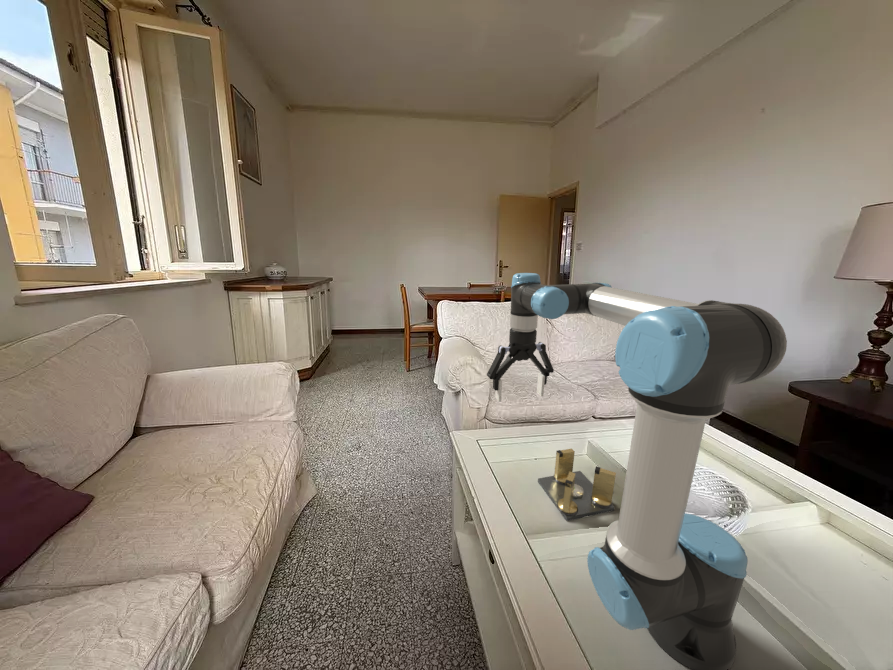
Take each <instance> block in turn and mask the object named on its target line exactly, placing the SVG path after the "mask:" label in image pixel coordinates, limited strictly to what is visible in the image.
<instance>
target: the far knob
mask: <svg viewBox="0 0 893 670" xmlns="http://www.w3.org/2000/svg"><path fill="white" fill-rule="evenodd" d="M575 453H576V452H575V451H574V449H573V448H567V449H562V450H561V449H558V450H556V455H555V463H554V464H555V465H554V473H553V476H554V477H555V479H556V480H557V481H559V482H562V483H565V481H566V479H567V477H568V474H569V472H574V461H575Z"/></svg>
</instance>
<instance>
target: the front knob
mask: <svg viewBox="0 0 893 670" xmlns="http://www.w3.org/2000/svg"><path fill="white" fill-rule="evenodd" d="M573 472H574V471H573ZM573 472H569V474H568V477H567V479H566V481H565V490H564V498H563V499H560V500H559V501H558V507H559V509H560V510H561V511H563V512H565V513H569V514H572V513H575V512H576V511H577V504H576V503H575V502H574V501H572V500H573V492H574V483H575V474H576V473H573Z"/></svg>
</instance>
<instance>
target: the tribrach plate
mask: <svg viewBox="0 0 893 670" xmlns="http://www.w3.org/2000/svg"><path fill="white" fill-rule="evenodd" d="M573 473H576V474H575V483H574V492H573V500H572V501H574V502H575V503H576V504H577V511H576V512H575V513H572V514H569V513H565V512H563V511H561V510H560V509H559V507H558V501H559V500H560V499H563V498H564V490H565V483H562V482H559V481H557V480H556V479H555V477H554V475H550V476H544V477H540V478H537V483H538V485H539V486H540V487H541V488H542V489H543V491H544V492H545V494H546V495H547V497H548V498H549V499H550V501H551V502H552V503H553V505H554V506H555V508H556V509H557V510H558V512H559V513H560V514H561V516H562V517H563V518H564V520H565V521H566V522H569V521H573V520H578V519H582V518H587V517H591V516H595V515H600V514H605V513H610V512H614V511H615V506H614V504H613V502H612V503H611V504H610V505H609V506H602V505H599V504H597V503H595V502H594V501H593V499H592V489H593V482H592V481H590V479H589V478H588V477H586V476H585V473H583V471H581V470H576V471H573Z"/></svg>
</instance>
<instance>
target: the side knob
mask: <svg viewBox="0 0 893 670" xmlns="http://www.w3.org/2000/svg"><path fill="white" fill-rule="evenodd" d="M593 474H594V476H593V482H592V484H593V489H592V499H593V501H594V502H595V503H597V504H599V505H602V506H609V505H610V504H611V503H612V504H613V497H614V496H613V495H614V489H615V482H616V477H617V476H616V475H617V472H616V471H615V472H614V471H612V470H608V469H605V468H602V467H599V466H595V468H594V473H593Z"/></svg>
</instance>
